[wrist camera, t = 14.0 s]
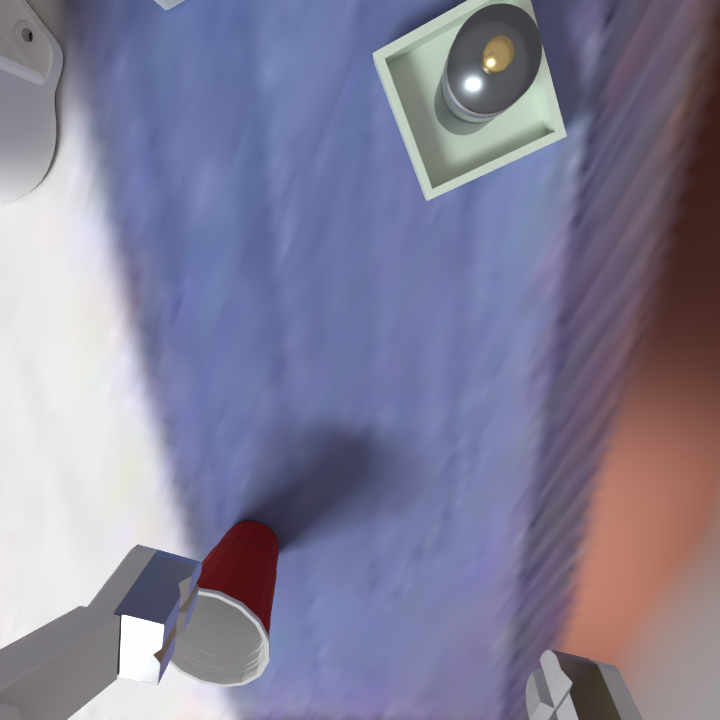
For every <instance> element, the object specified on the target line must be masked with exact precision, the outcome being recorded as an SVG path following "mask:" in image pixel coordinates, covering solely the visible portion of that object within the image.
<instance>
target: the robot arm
mask: <svg viewBox="0 0 720 720" xmlns="http://www.w3.org/2000/svg"><path fill="white" fill-rule="evenodd" d="M31 32H32V35H33V39H32V41H31V42H30V39H29V34H30V33H31ZM62 66H63V53H62V50H61V47H60V45H59V43H58V42H57V40H56V39H55V38H54V36H53V35H52V34H51V33H50V31H49V30H48V29H47V27H46V26H45V25H44V24H43V22H42V21H41V20H40V18H39V17H38V16H37V15H36V13H35V12H34V11H33V9H32V8H31V7H30V6H29V4H28V3H27V2H26V1H25V0H0V203H7V202H11V201H14V200H17V199H19V198H21V197H23V196H25V195H26V194H28V193H29V192H31V191H32V190H33V189H34V188H35V187H36V186H37V185H38V184H39V183H40V182H41V180H42V179H43V177H44V176H45V174H46V172H47V171H48V168H49V166H50V164H51V161H52V158H53V154H54V149H55V143H56V115H55V91H56V88H57V85H58V82H59V78H60V75H61V71H62ZM201 570H202V562H199V561H196V560H192V559H189V558H185V557H182V556H178V555H175V554H171V553H168V552H164V551H161V550H157V549H153V548H149V547H145V546H142V545H136V546H135V547H134V548H133V549H131V550H130V551H129V553H128V554H127V555H126V557H125V558H124V559H123V561H122V562H121V563H120V565H119V566H118V567H117V569H116V570H115V571H114V573H113V574H112V575H111V576H110V578H109V579H108V580H107V582H106V583H105V584H104V586H103V587H102V588H101V590H100V591H99V592H98V594H97V595H96V596H95V598H94V599H93V600H92V601H91V603H90V604H89V605H88V607H84V606H79V607H77V608H75V609H73V610H72V611H70V612H68V613H66V614H64V615H62V616H61V617H59V618H57V619H55V620H53V621H51V622H50V623H48V624H46V625H44V626H42V627H40V628H39V629H37V630H35V631H33V632H31V633H29V634H28V635H26V636H24V637H22V638H20V639H18V640H17V641H15V642H13V643H11V644H9V645H8V646H6V647H4V648H2V649H0V720H67V719H68V718H69V717H71V716H72V715H73V714H74V713H76V712H77V711H78V710H79V709H80V708H82V707H83V706H84V705H85V704H87V703H88V702H89V701H90V700H92V699H93V698H94V697H95V696H96V695H98V694H99V693H100V692H101V691H103V690H104V689H105V688H106V687H107V686H109V685H110V684H111V683H112V682H114V681H115V680H116V679H117V676H120V677H125V678H129V679H134V680H139V681H143V682H148V683H152V684H157V685H158V683H159V681H160V679H161V677H162V675H163V673H164V671H165V669H166V667H167V665H168V663H169V661H170V659H171V657H172V655H173V653H174V648H175V640H176V637H178V636H179V635H181V634H182V633H184V631H185V629H186V627H187V625H188V622H189V620H190V618H191V615H192V613H193V610H194V607H195V604H196V601H197V597H198V591H199V586H198V585H197V583H196V582H197V580H198V578H199V576H200V575H201ZM540 661H541V665H542V667H541V668H539V669H537V670H535V671H532V673H531V675H530V677H529V679H528V681H527V686H526V694H525V695H526V707H527V711H528V715H529V719H530V720H643V719H642V717H641V715H640V713H639V711H638V709H637V706H636V704H635V702H634V700H633V698H632V696H631V694H630V692H629V689H628V687H627V685H626V683H625V681H624V679H623V677H622V675H621V673H620V671H619V670H618V669H617V668H616V667H615V666H614V665H610V664H606V663H602V662H598V661H594V660H590V659H588V658H583V657H579V656H575V655H571V654H567V653H563V652H558V651H554V650H550V649H549V650H547V651H545V652H544V653H543V655H542V656H541V658H540Z"/></svg>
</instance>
